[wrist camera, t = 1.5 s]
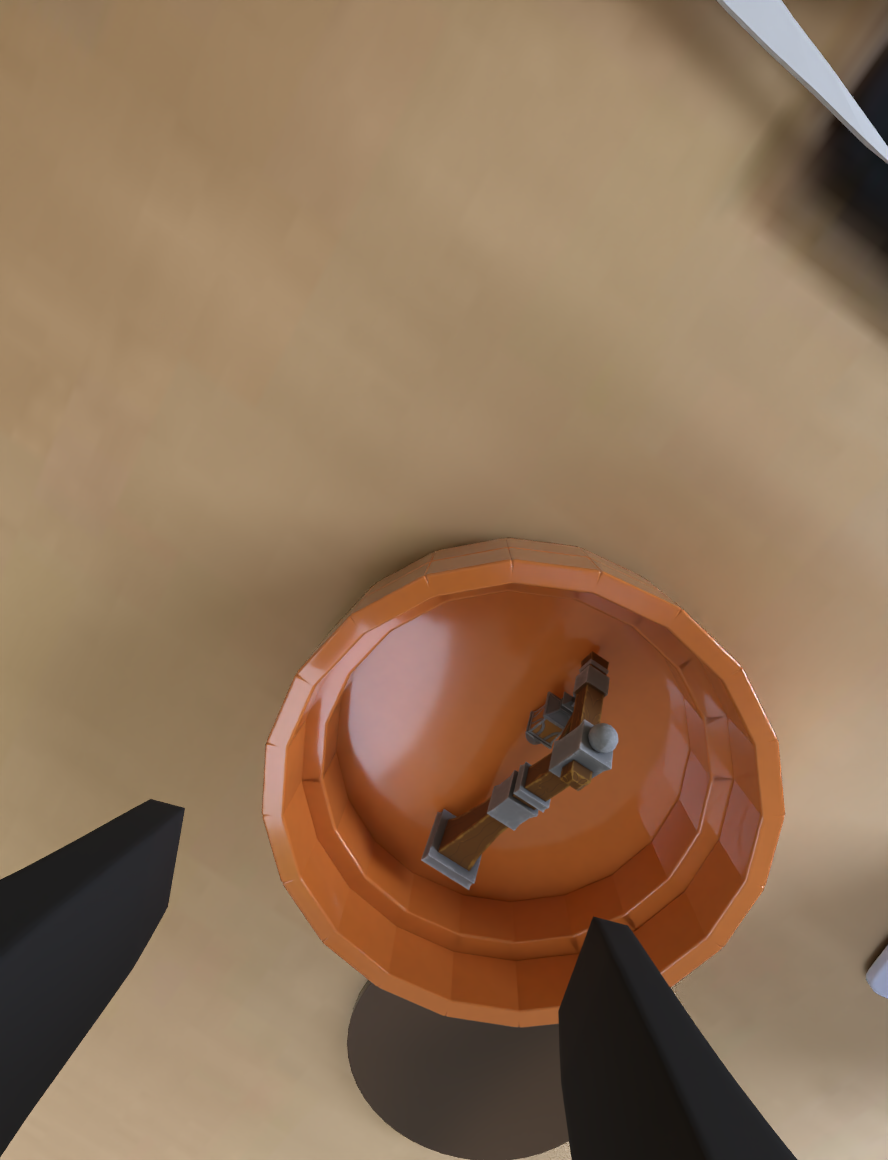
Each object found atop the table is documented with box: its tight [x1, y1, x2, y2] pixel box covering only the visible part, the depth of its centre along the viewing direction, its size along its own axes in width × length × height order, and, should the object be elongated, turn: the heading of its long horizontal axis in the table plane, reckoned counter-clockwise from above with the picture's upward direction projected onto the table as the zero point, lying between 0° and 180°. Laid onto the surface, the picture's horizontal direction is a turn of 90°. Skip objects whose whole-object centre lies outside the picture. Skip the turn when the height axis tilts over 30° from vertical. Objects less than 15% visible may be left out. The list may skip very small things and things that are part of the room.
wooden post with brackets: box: [421, 651, 618, 890], centre depth 18 cm, size 2×8×4 cm, turn 146°
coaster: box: [347, 980, 569, 1160], centre depth 22 cm, size 10×10×1 cm
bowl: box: [262, 538, 785, 1028], centre depth 18 cm, size 14×14×4 cm
